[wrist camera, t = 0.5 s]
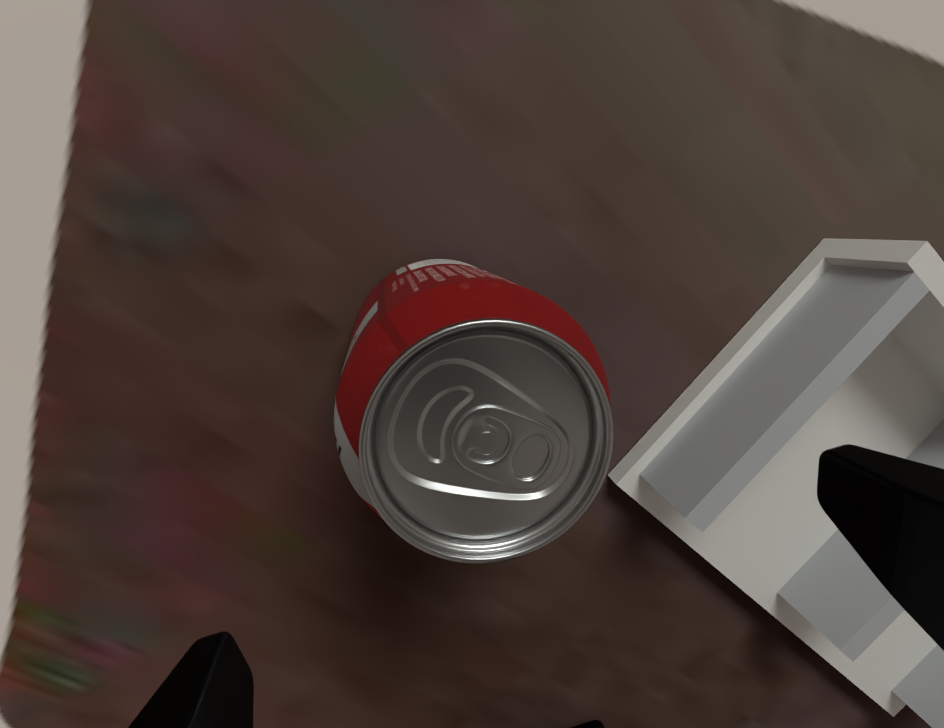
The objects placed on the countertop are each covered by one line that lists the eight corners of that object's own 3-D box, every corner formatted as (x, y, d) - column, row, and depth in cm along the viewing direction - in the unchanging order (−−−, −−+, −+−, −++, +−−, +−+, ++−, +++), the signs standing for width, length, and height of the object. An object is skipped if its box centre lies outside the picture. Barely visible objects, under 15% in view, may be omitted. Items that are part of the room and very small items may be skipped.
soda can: (393, 229, 23) (406, 230, 11) (544, 299, 24) (694, 364, 13) (327, 384, 24) (276, 535, 12) (477, 442, 25) (558, 624, 14)
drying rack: (878, 702, 32) (965, 786, 27) (607, 475, 26) (658, 530, 22) (1063, 516, 31) (1188, 569, 26) (823, 238, 25) (927, 240, 21)
